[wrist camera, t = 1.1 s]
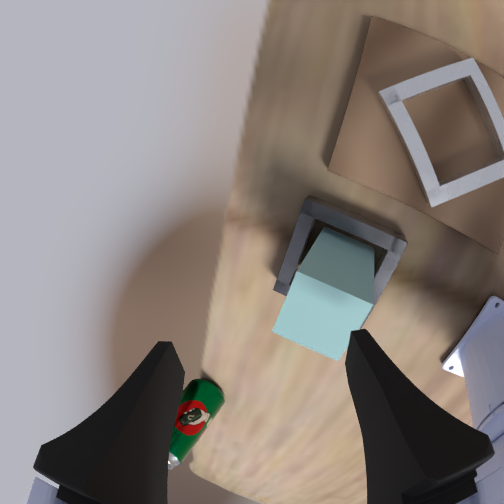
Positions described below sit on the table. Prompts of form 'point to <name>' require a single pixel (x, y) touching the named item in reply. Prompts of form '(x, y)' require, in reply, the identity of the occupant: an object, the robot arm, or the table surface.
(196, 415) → the soda can
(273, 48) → the table surface
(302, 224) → the stand socket
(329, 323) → the teal peg
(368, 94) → the socket board
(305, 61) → the table surface
